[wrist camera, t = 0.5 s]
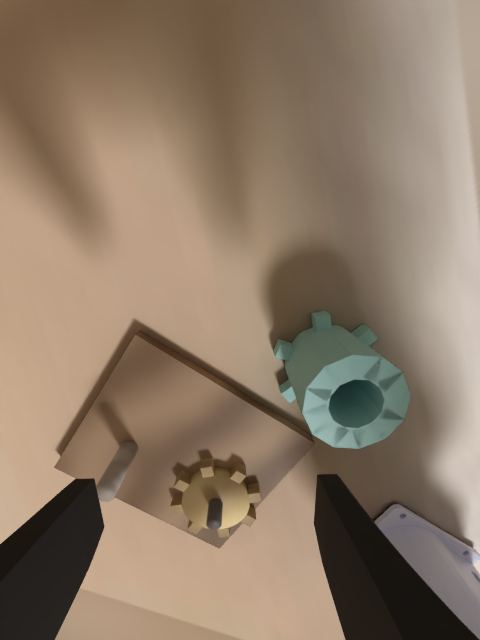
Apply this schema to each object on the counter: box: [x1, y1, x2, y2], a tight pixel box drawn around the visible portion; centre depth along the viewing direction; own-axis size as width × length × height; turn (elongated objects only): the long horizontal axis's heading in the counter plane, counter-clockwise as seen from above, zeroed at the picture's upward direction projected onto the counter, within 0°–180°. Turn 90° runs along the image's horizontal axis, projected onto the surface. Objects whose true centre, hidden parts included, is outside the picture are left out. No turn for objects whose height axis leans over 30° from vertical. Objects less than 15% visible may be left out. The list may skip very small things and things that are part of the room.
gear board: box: [54, 331, 315, 549], centre depth 17 cm, size 14×12×4 cm
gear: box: [273, 311, 411, 449], centre depth 15 cm, size 7×7×5 cm
